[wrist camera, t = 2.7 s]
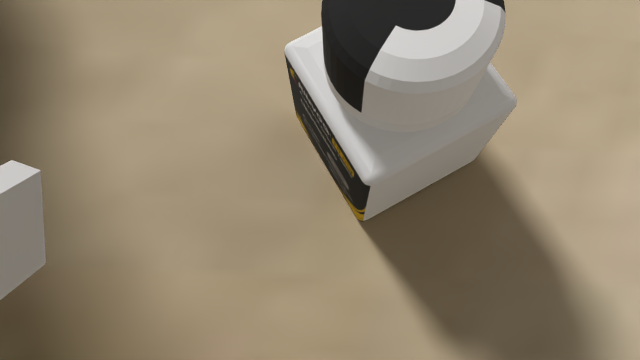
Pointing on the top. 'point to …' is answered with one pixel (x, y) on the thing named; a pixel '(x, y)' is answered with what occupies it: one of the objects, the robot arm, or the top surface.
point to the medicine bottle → (399, 92)
